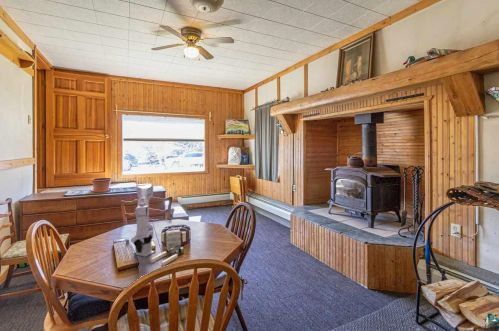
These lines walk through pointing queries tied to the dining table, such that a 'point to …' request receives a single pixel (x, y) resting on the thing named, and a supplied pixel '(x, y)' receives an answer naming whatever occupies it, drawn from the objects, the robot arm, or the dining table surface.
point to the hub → (144, 248)
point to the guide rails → (163, 256)
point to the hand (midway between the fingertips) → (142, 250)
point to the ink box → (173, 238)
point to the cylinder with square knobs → (176, 250)
